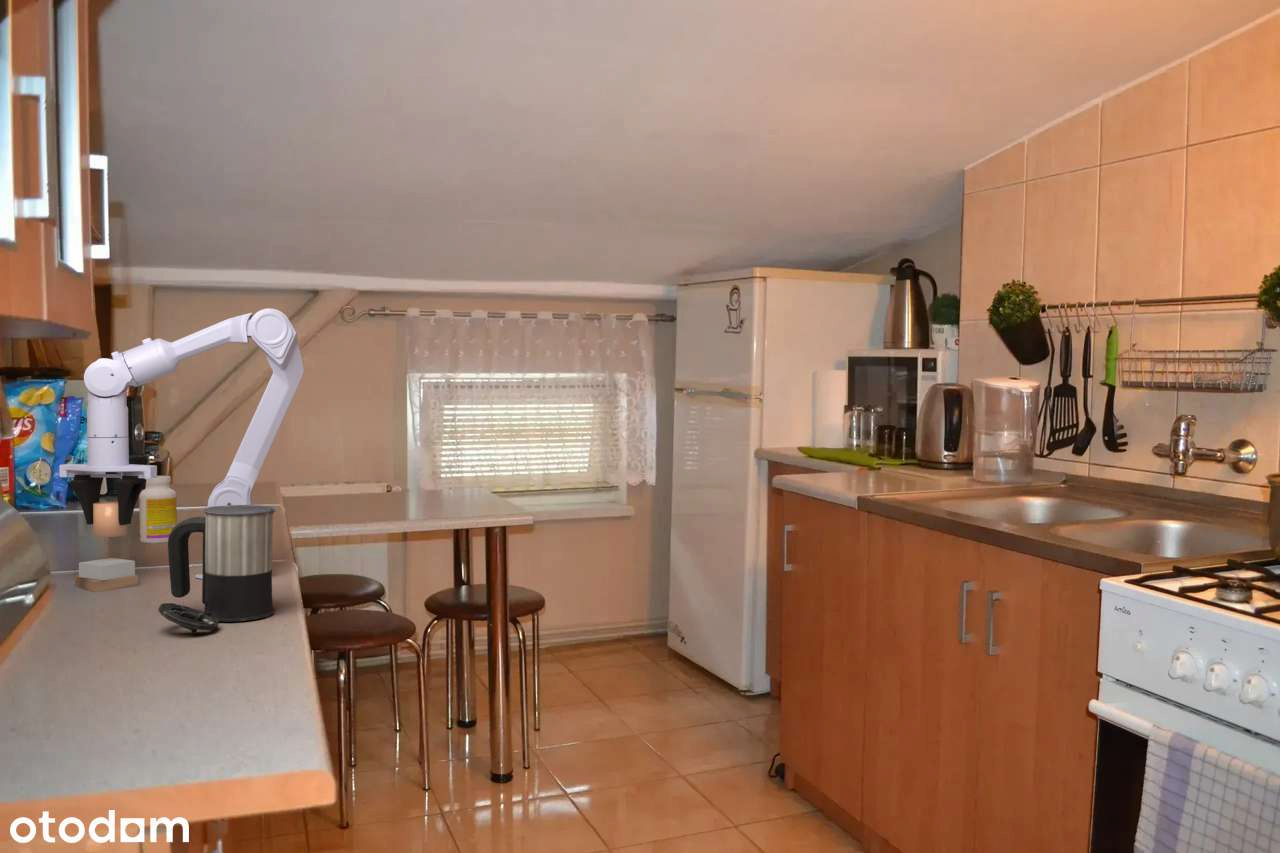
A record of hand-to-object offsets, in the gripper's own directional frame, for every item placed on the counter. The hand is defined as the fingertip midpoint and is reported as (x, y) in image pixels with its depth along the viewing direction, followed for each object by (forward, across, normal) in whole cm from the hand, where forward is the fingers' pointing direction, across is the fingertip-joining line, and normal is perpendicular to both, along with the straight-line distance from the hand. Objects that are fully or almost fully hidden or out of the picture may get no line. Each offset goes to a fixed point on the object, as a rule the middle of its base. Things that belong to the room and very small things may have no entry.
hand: (108, 524), depth 160 cm
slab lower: (+10, -1, +2) cm, 10 cm away
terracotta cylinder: (+2, 0, 0) cm, 2 cm away
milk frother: (+10, -28, +22) cm, 37 cm away
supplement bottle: (+10, +14, -41) cm, 44 cm away
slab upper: (+8, -1, +2) cm, 8 cm away
